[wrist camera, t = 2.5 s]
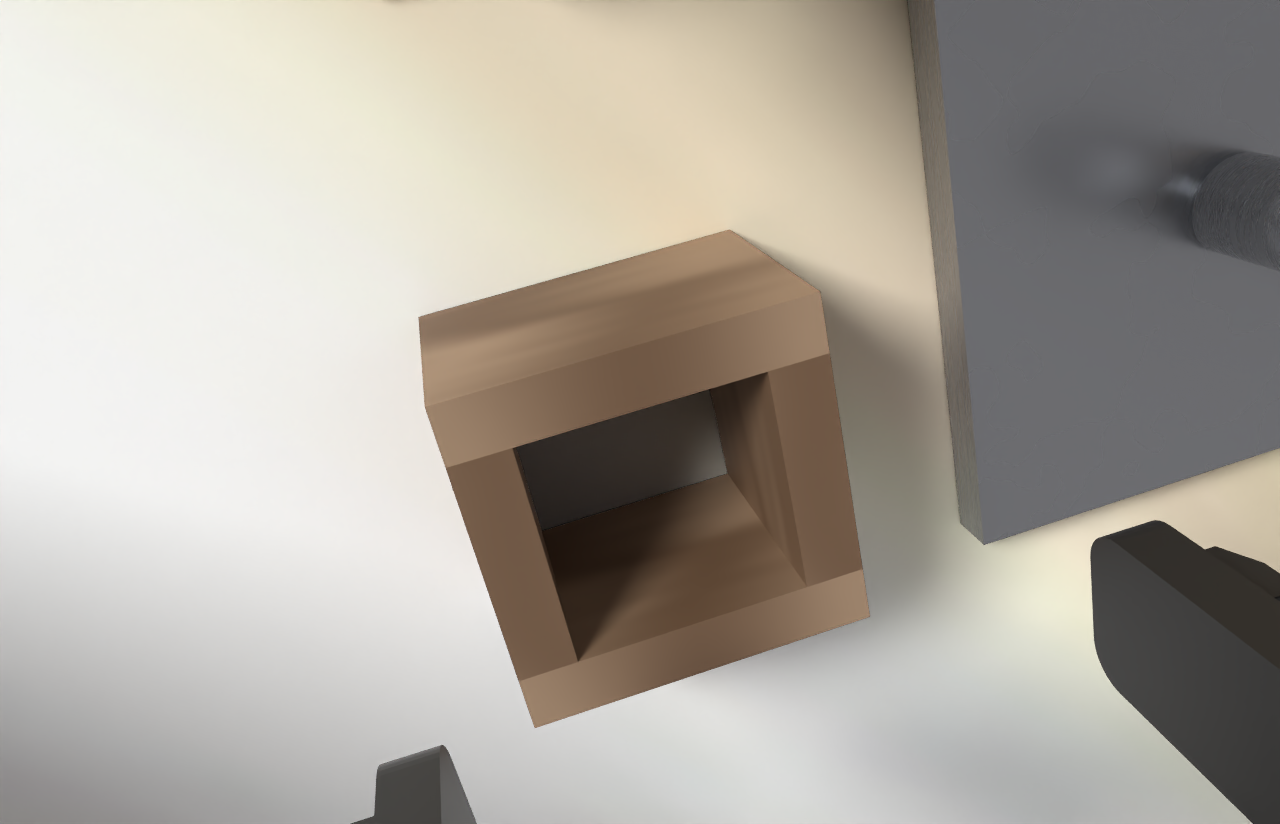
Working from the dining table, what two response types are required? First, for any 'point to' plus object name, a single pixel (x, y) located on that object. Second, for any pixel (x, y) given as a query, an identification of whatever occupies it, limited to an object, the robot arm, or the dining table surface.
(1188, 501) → the dining table surface
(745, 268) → the collar
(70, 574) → the dining table surface
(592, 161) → the dining table surface
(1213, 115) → the grey square base plate
